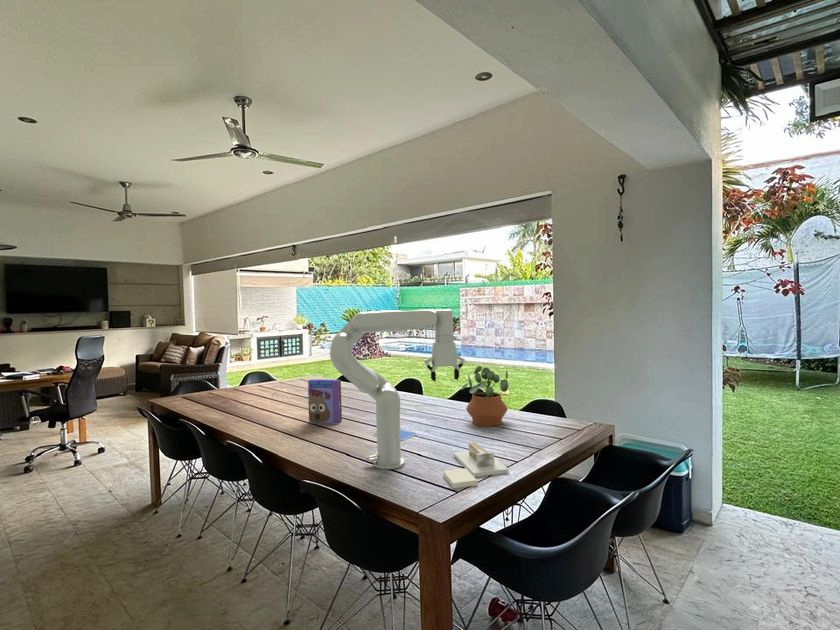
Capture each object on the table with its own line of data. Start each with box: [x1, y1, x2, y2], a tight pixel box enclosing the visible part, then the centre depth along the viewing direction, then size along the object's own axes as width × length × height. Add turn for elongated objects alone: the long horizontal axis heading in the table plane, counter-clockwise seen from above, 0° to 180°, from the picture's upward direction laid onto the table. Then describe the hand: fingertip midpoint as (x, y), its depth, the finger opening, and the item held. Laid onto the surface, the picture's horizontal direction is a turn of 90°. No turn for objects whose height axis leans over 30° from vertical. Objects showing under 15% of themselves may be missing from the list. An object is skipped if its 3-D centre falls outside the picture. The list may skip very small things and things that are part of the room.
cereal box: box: [307, 379, 343, 424], centre depth 250 cm, size 17×5×24 cm, turn 83°
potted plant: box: [460, 365, 509, 427], centre depth 240 cm, size 23×28×30 cm
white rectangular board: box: [453, 450, 509, 478], centre depth 180 cm, size 14×24×2 cm, turn 14°
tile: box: [442, 467, 478, 489], centre depth 164 cm, size 9×2×12 cm
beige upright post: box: [468, 441, 495, 467], centre depth 180 cm, size 7×15×5 cm, turn 14°
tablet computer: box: [373, 429, 418, 441], centre depth 224 cm, size 19×13×1 cm, turn 54°
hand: (445, 380), depth 185 cm, fingers open, 9 cm apart
